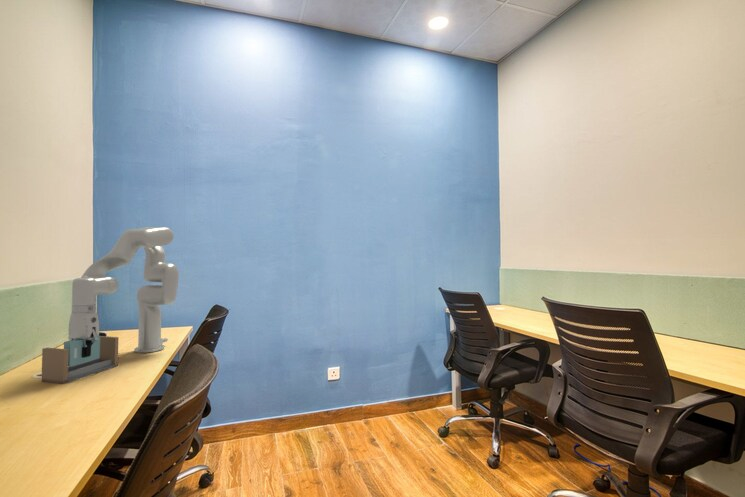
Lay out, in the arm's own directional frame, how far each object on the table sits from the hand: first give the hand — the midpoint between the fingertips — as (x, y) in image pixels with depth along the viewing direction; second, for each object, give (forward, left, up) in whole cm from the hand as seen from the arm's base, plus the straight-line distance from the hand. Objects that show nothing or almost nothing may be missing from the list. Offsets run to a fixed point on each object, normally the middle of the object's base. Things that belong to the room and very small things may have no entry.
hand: (82, 356), depth 143 cm
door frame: (0, 0, -7) cm, 7 cm away
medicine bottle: (-16, -11, -7) cm, 21 cm away
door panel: (0, 0, -2) cm, 2 cm away
